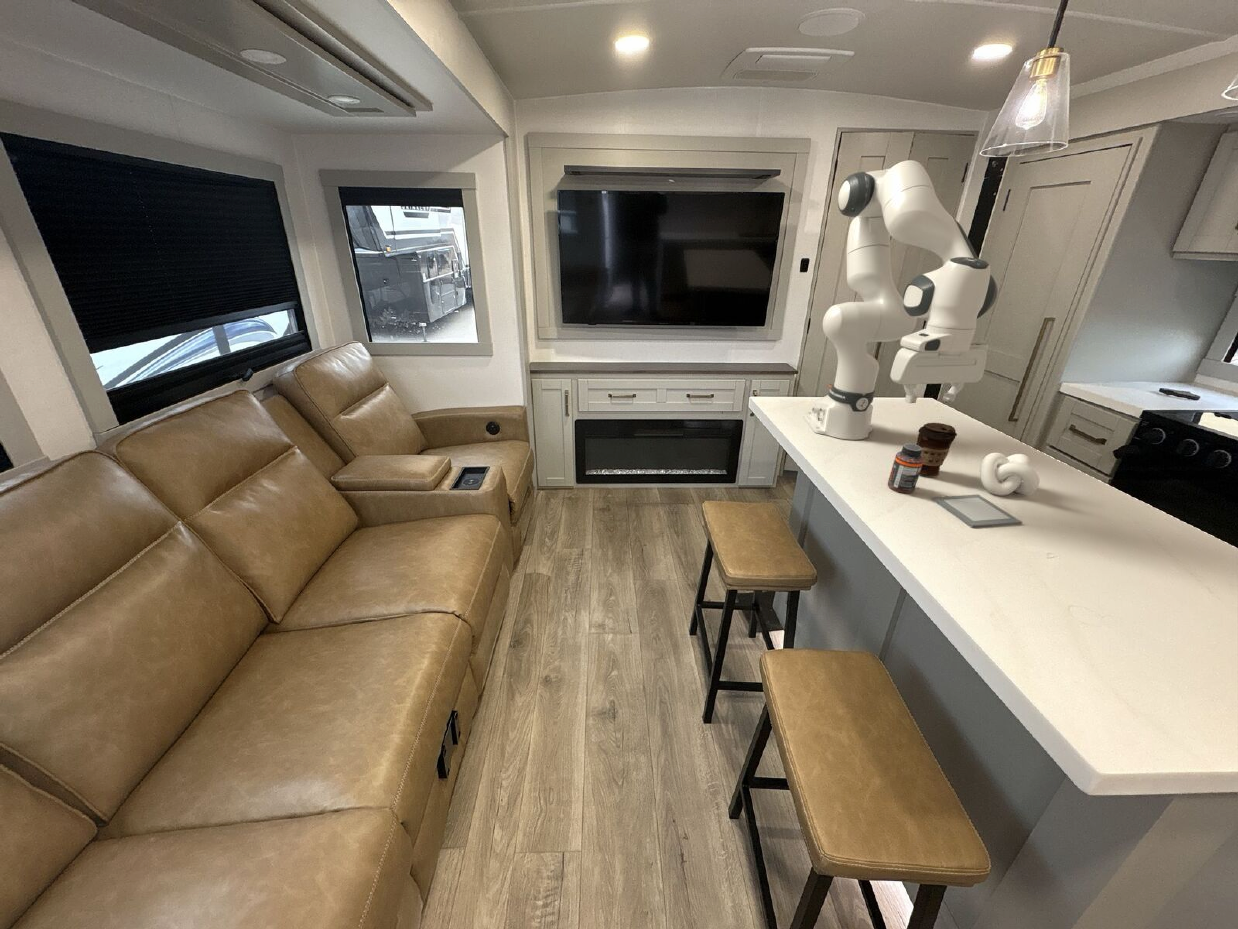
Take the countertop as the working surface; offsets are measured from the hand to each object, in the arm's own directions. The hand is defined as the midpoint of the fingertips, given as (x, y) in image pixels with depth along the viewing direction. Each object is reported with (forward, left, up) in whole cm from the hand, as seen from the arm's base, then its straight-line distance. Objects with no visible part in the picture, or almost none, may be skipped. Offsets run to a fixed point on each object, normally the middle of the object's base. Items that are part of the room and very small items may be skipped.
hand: (929, 401), depth 110 cm
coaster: (+12, +9, -22) cm, 27 cm away
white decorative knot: (+3, +24, -23) cm, 33 cm away
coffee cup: (-7, +11, -23) cm, 26 cm away
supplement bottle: (0, 0, -23) cm, 23 cm away
